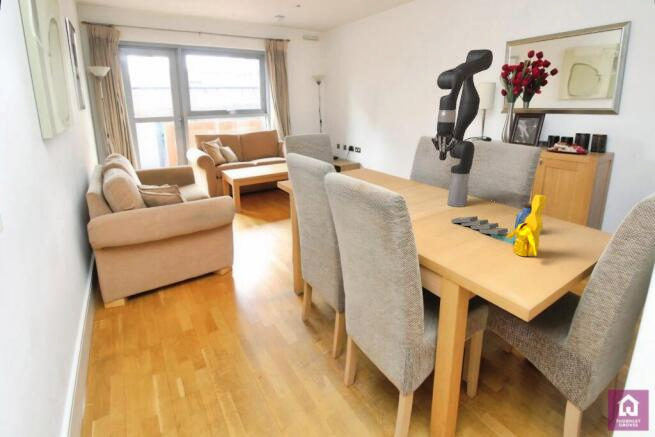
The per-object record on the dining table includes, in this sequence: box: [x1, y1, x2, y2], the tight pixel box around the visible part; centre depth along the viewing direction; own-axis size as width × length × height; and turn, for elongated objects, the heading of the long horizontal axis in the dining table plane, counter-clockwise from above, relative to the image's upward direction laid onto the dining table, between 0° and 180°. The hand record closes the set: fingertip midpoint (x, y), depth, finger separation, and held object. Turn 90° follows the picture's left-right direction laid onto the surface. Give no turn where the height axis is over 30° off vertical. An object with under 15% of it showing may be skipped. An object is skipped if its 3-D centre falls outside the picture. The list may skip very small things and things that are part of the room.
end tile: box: [490, 232, 516, 245], centre depth 145 cm, size 5×2×10 cm
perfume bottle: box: [513, 203, 532, 230], centre depth 151 cm, size 6×6×12 cm
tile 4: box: [479, 227, 509, 235], centre depth 148 cm, size 5×2×10 cm
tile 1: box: [451, 215, 479, 224], centre depth 160 cm, size 5×2×10 cm
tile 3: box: [470, 222, 500, 230], centre depth 152 cm, size 5×2×10 cm
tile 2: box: [461, 219, 489, 227], centre depth 157 cm, size 5×2×10 cm
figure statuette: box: [506, 194, 547, 257], centre depth 128 cm, size 18×8×22 cm, turn 6°
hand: (442, 160), depth 164 cm, fingers closed
